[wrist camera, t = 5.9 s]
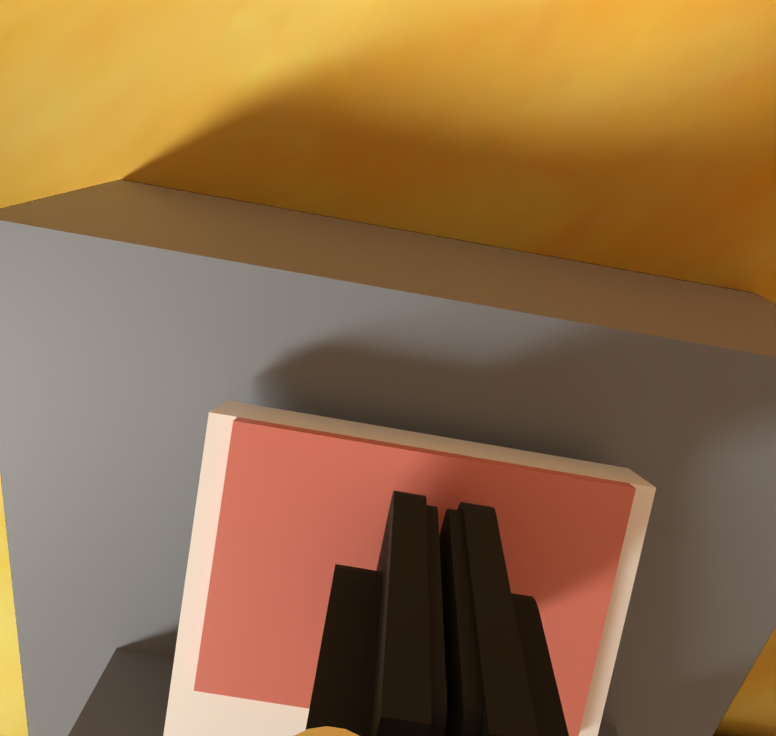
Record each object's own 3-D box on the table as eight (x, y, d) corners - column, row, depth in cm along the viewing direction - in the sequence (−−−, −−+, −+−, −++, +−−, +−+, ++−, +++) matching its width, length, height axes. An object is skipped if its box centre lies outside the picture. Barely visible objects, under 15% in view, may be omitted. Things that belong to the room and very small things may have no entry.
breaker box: (724, 839, 27) (906, 1267, 17) (125, 748, 26) (-52, 1141, 16) (1051, 346, 17) (1908, 667, 7) (119, 179, 16) (-324, 286, 7)
